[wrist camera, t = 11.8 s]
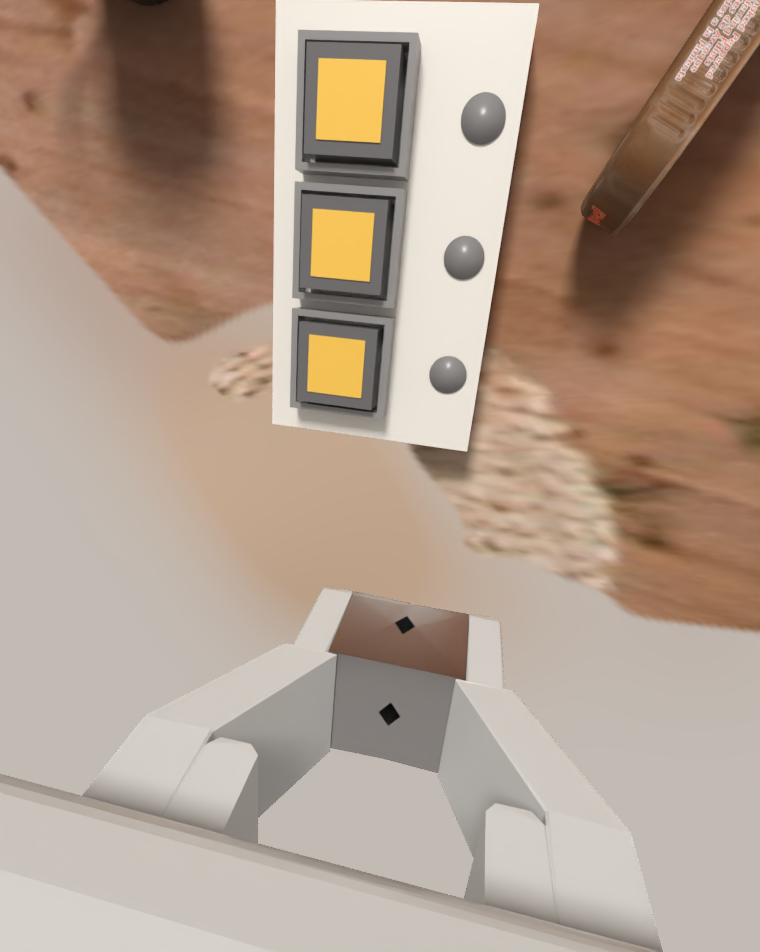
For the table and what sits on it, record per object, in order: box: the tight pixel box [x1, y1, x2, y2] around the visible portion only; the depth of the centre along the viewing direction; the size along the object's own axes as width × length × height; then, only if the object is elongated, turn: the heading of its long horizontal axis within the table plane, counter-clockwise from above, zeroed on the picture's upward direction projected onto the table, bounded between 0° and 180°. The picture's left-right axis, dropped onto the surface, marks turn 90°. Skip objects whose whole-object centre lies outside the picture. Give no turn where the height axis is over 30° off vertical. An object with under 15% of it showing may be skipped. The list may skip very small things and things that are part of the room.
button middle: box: [299, 194, 394, 295], centre depth 30 cm, size 5×5×2 cm
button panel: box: [272, 0, 539, 452], centre depth 32 cm, size 14×24×4 cm, turn 175°
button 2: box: [297, 319, 384, 410], centre depth 33 cm, size 5×5×2 cm
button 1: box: [304, 42, 407, 167], centre depth 28 cm, size 5×5×2 cm
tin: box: [581, 0, 760, 237], centre depth 24 cm, size 15×3×8 cm, turn 150°
